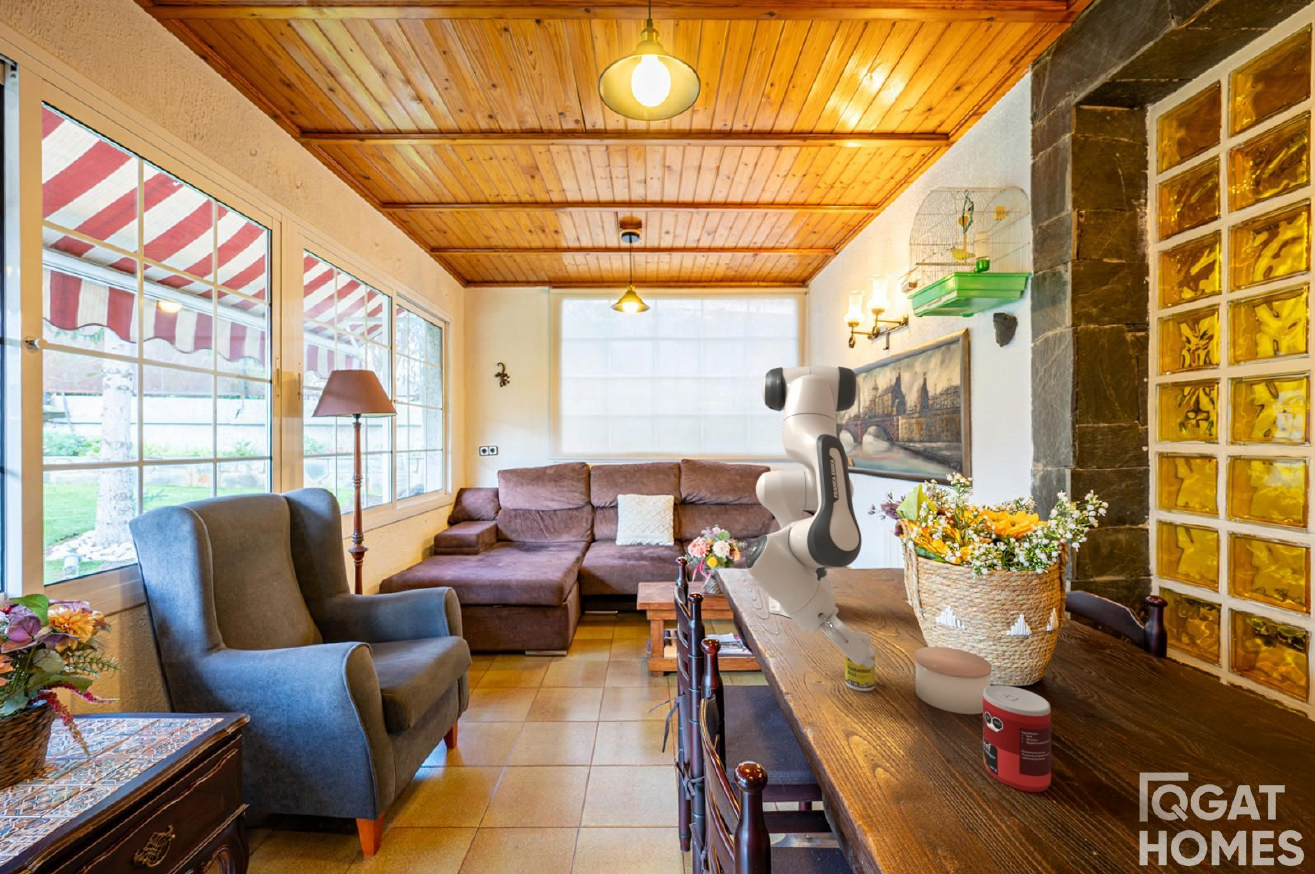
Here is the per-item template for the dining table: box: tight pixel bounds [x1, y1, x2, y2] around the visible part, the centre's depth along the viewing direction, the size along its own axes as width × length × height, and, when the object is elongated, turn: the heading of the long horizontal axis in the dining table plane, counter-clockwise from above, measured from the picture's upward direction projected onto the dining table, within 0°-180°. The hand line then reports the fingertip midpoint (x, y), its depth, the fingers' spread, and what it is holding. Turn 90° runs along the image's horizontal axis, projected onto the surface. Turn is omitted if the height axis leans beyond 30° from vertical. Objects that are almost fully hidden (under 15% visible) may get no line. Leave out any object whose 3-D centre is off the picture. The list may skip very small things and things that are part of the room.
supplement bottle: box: [844, 630, 876, 692], centre depth 104 cm, size 5×5×10 cm
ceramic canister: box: [914, 646, 993, 715], centre depth 99 cm, size 12×12×7 cm
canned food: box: [982, 684, 1052, 793], centre depth 76 cm, size 8×8×11 cm
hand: (863, 657), depth 104 cm, fingers closed on supplement bottle, 5 cm apart
